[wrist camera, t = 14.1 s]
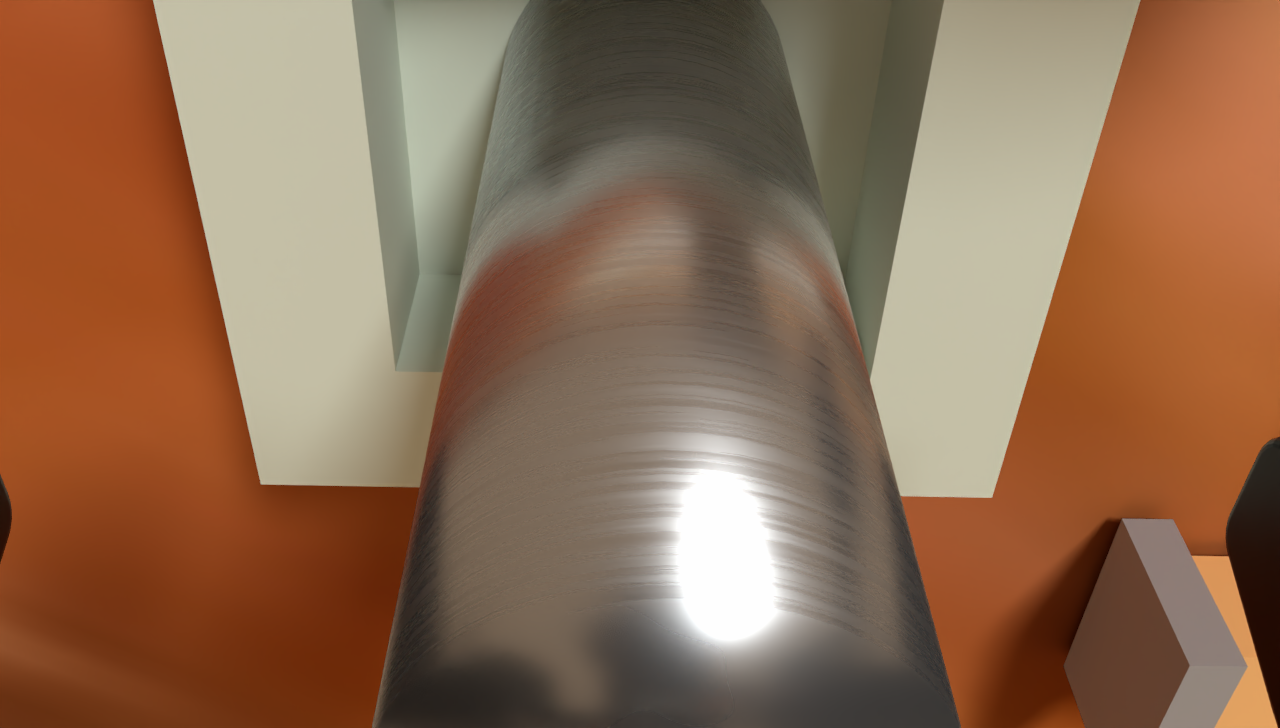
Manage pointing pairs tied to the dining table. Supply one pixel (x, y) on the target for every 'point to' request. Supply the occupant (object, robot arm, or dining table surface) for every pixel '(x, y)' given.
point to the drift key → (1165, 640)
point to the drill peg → (656, 412)
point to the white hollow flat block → (452, 167)
